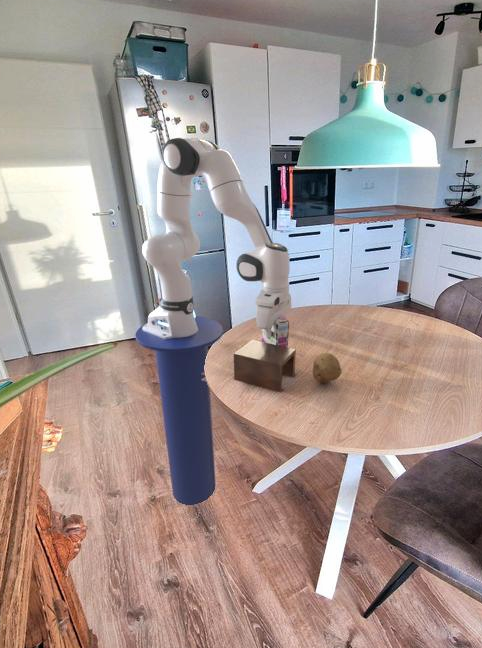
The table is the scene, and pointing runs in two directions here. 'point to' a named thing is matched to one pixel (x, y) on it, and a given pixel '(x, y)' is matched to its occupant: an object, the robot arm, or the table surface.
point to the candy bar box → (278, 333)
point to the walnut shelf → (264, 364)
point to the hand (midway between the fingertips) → (275, 332)
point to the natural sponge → (326, 368)
